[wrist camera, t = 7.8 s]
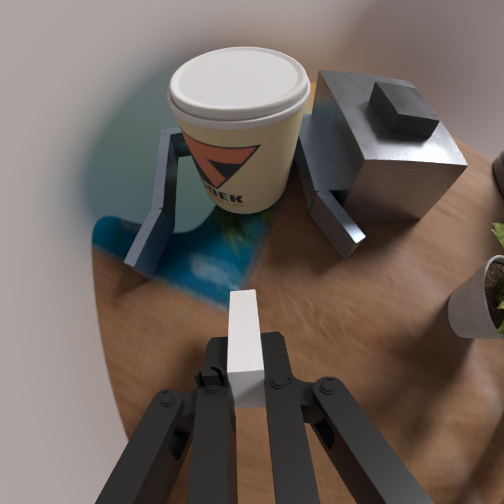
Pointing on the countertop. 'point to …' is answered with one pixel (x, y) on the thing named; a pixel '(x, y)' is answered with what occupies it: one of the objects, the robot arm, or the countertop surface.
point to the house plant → (481, 300)
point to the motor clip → (337, 163)
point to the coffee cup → (241, 122)
